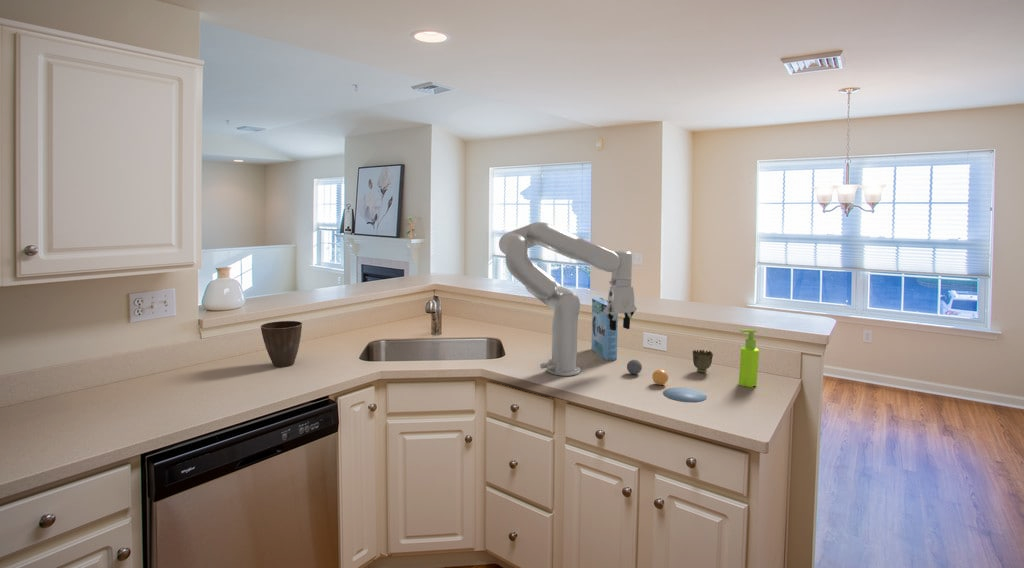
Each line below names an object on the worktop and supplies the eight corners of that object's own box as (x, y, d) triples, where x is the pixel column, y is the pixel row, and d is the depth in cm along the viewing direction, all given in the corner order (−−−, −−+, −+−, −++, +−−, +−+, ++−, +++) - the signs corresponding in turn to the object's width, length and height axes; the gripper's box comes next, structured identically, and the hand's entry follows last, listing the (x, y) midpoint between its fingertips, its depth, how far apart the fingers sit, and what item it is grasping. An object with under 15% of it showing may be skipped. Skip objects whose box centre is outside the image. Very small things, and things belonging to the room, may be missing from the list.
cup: (713, 375, 209) (714, 355, 208) (692, 374, 211) (693, 353, 210) (710, 370, 217) (711, 350, 215) (690, 368, 218) (691, 348, 217)
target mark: (684, 404, 178) (684, 404, 178) (654, 391, 191) (654, 391, 191) (716, 398, 185) (716, 397, 185) (684, 385, 197) (685, 385, 197)
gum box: (616, 360, 230) (618, 305, 226) (605, 360, 229) (606, 305, 225) (601, 348, 248) (602, 297, 245) (590, 348, 248) (591, 297, 244)
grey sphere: (633, 377, 207) (633, 362, 206) (623, 373, 212) (624, 359, 211) (644, 375, 209) (645, 360, 209) (634, 371, 214) (635, 357, 213)
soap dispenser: (733, 382, 202) (736, 327, 199) (751, 381, 202) (755, 327, 200) (740, 387, 196) (744, 331, 193) (759, 387, 197) (763, 331, 194)
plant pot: (253, 367, 215) (251, 326, 213) (283, 357, 228) (281, 319, 226) (283, 371, 209) (281, 330, 207) (312, 361, 223) (310, 322, 221)
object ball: (659, 388, 194) (660, 372, 194) (648, 383, 199) (649, 368, 199) (671, 385, 197) (672, 370, 196) (660, 381, 202) (661, 366, 201)
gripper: (609, 285, 207) (607, 333, 209) (645, 283, 215) (643, 329, 217) (597, 283, 213) (595, 329, 216) (632, 280, 221) (630, 325, 224)
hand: (619, 328), depth 217 cm, fingers open, 5 cm apart
